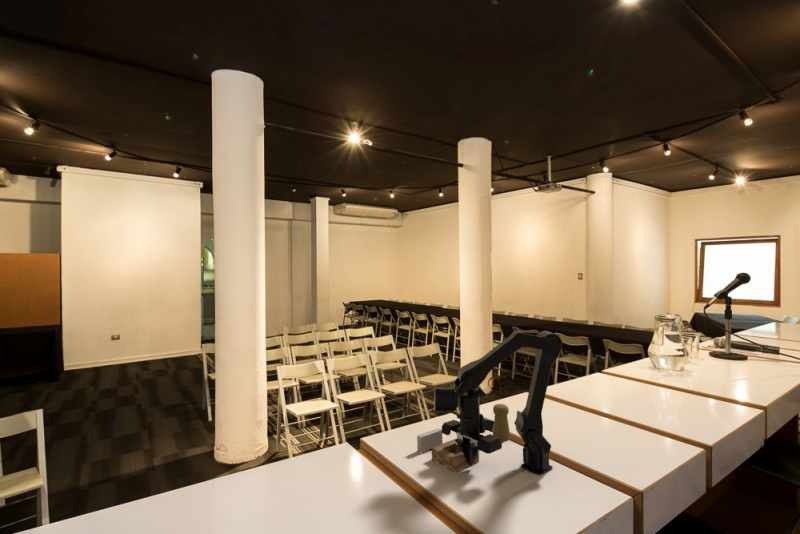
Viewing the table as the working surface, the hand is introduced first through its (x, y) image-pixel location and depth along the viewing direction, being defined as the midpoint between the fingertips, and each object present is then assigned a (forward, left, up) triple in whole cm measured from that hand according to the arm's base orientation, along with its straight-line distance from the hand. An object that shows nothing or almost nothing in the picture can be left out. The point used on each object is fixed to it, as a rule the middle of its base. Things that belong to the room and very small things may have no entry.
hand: (470, 465), depth 113 cm
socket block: (+7, 0, -1) cm, 7 cm away
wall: (+18, 0, -1) cm, 18 cm away
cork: (+9, -24, -1) cm, 26 cm away
